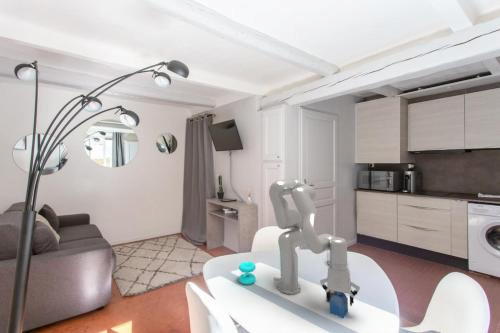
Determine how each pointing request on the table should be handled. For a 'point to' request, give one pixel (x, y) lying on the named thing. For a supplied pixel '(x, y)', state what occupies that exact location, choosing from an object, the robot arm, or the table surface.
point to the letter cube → (330, 294)
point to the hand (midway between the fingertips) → (339, 302)
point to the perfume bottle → (339, 304)
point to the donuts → (247, 273)
